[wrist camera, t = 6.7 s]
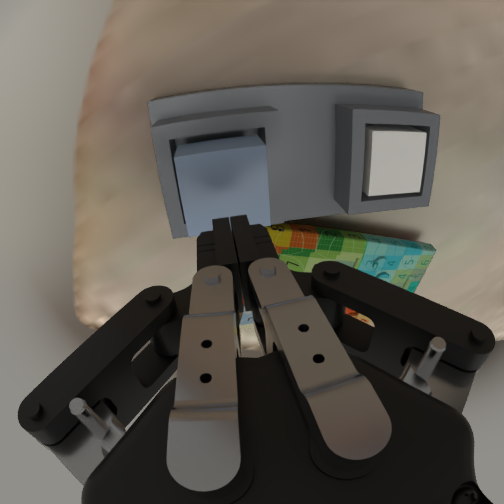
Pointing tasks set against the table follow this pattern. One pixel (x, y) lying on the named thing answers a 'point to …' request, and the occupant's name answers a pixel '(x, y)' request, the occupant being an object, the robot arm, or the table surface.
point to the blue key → (223, 181)
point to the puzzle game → (349, 256)
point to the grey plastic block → (295, 142)
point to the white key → (392, 159)
